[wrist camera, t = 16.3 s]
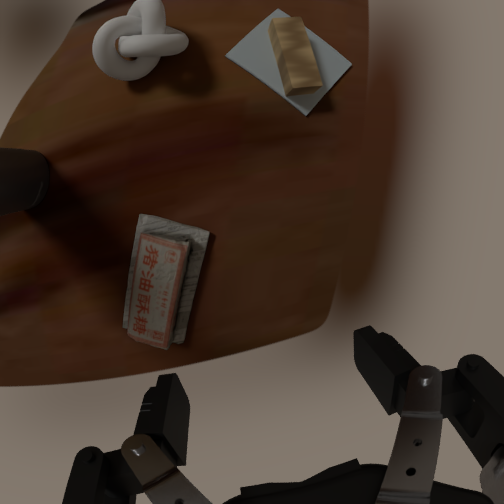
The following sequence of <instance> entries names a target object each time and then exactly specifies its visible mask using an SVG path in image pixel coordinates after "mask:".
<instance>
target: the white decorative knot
mask: <svg viewBox="0 0 504 504" xmlns="http://www.w3.org/2000/svg"><path fill="white" fill-rule="evenodd" d="M119 37H120V39H119V47H118V51H119V53H120V55H122V56H123V57H138V58H137V59H136V60H133V61H128V60H125V59H124V58H122V57H121V56H120V55H119V54H118V53H117V51H116V48H115V41H116V39H117V38H119ZM188 42H189V39H188V37H187V36H186V34H185V33H183V32H181V31H179V30H176V29H174V28H171V27H169V26H166V17H165V9H164V5H163V3H162V1H161V0H137V1H135V3H134V4H133V5H132V6H131V8H130V10H129V12H128V14H127V16H121V17H117V18H114V19H111V20H109V21H108V22H106V23H105V24H104V25H103V26H101V28H100V29H99V30H98V32H97V33H96V35H95V37H94V41H93V56H94V60H95V62H96V64H97V65H98V67H99V68H100V69H101V70H102V71H103V72H104V73H105V74H107V75H108V76H110V77H112V78H115V79H118V80H123V81H131V80H137V79H140V78H142V77H144V76H146V75H147V74H148V73H150V72H151V71H152V70H153V69H154V67H155V66H156V65H157V63H158V62H159V60H160V57H161V56H171V55H176V54H179V53H181V52H182V51H184V50H185V49H186V48H187V46H188Z"/></svg>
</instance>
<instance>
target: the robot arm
mask: <svg viewBox="0 0 504 504" xmlns="http://www.w3.org/2000/svg"><path fill="white" fill-rule="evenodd" d="M48 185H49V168H48V164H47V162H46V159H45V158H44V156H43V155H42V154H41V153H39V152H38V151H35V150H24V149H15V148H0V216H2V215H6V214H10V213H14V212H18V211H22V210H26V209H30V208H33V207H35V206H37V205H38V204H39V203H40V202H41V201H42V200H43V198H44V196H45V194H46V192H47V189H48ZM354 360H355V364H356V367H357V369H358V370H359V372H360V373H361V375H362V376H363V378H364V379H365V381H366V382H367V384H368V385H369V387H370V388H371V390H372V391H373V392H374V394H375V395H376V397H377V399H378V400H379V402H380V403H381V405H382V406H383V407H384V409H385V411H386V412H387V414H388V415H391V414H394V413H396V412H397V413H398V414H399V415H400V417H401V419H400V423H399V428H398V432H397V435H396V439H395V443H394V447H393V450H392V454H391V457H390V460H389V464H388V466H387V465H382V464H362V465H360V464H359V462H358V460H357V458H356V459H353V460H351V461H348V462H345V463H342V464H339V465H336V466H333V467H330V468H328V469H326V470H324V471H322V472H320V473H318V474H316V475H314V476H312V477H311V478H308V479H307V480H304V481H302V482H293V483H292V482H291V483H290V482H289V483H265V484H259V485H254V486H247V487H241V488H240V490H241V495H238V496H236V497H233V498H231V499H229V500H228V501H226V502H224V503H223V504H504V377H503V376H502V375H501V374H500V373H499V372H498V371H497V370H496V369H495V368H494V367H493V366H492V365H490V363H488V362H487V361H486V360H485V359H484V358H483V357H481V356H479V355H475V354H470V355H466V356H464V357H462V358H461V359H460V360H459V362H458V366H457V368H454V369H449V370H445V371H439V369H437V368H436V367H433V366H429V365H424V366H421V365H420V364H419V363H418V362H417V361H416V360H415V359H414V358H413V357H412V356H411V355H410V354H409V353H408V352H407V351H406V350H405V349H403V347H402V346H401V345H400V344H398V342H397V341H396V340H395V339H394V338H393V337H392V336H391V335H388V334H386V333H384V332H382V333H379V334H378V333H377V332H376V331H375V330H374V329H373V328H372V327H371V326H366V327H364V328H361V329H357V330H355V331H354ZM189 416H190V404H189V400H188V397H187V395H186V393H185V391H184V388H183V386H182V384H181V382H180V380H179V378H178V376H177V374H176V373H172V374H165V375H159V377H158V380H157V384H156V387H150V389H149V390H148V391H147V392H146V394H145V395H144V398H143V402H142V406H141V409H140V413H139V416H138V420H137V423H136V427H135V431H134V435H133V436H131V437H129V438H128V439H126V440H125V441H124V442H123V444H122V446H121V449H119V450H115V451H111V452H106V453H103V452H102V451H101V450H100V449H99V448H97V447H94V446H90V447H85V448H83V449H82V450H80V451H79V452H78V453H77V455H76V457H75V460H74V463H73V466H72V470H71V473H70V477H69V480H68V483H67V487H66V491H65V494H64V499H63V502H62V504H135V503H136V494H140V493H144V492H145V494H146V495H147V497H148V498H149V499H150V501H151V502H152V503H153V504H212V503H211V502H210V501H209V500H208V499H207V498H206V497H205V496H204V495H203V494H202V493H201V492H200V491H199V490H198V489H197V488H196V487H195V486H193V484H192V483H191V482H190V481H189V480H188V479H187V478H186V477H185V476H184V475H183V474H182V473H181V472H180V471H179V470H178V468H177V466H185V465H186V454H187V441H188V427H189ZM444 418H448V419H449V421H450V422H451V424H452V425H453V426H454V427H455V429H456V430H457V432H458V433H459V435H460V436H461V438H462V439H463V440H464V442H465V443H466V445H467V446H468V448H469V449H470V451H471V452H472V453H473V455H474V457H475V458H476V459H477V461H478V462H479V464H480V465H481V467H482V471H481V474H480V483H481V488H482V493H481V492H478V491H473V490H469V489H464V488H459V487H456V486H452V485H448V484H444V483H440V482H437V481H434V480H433V479H434V474H435V469H436V464H437V457H438V452H439V445H440V437H441V429H442V420H443V419H444Z"/></svg>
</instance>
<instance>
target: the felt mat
mask: <svg viewBox="0 0 504 504" xmlns="http://www.w3.org/2000/svg"><path fill="white" fill-rule="evenodd" d="M282 17H290V16H289V15H287V14H286V13H284V12H282V11H281V10H279V9H277V10H276V11H274V12H273V13H272V14H271V15H269V16H268V17H267V18H266V19H265V20H263V21H262V22H261V23H260V24H259V25H258V26H256V27H255V28H254V29H253V30H252V31H251V32H250V33H249V34H248V35H246V36H245V37H244V38H243V39H242V40H241V41H240V42H239V43H238V44H237V45H236V46H235V47H234V48H233V49H231V50H230V51H229V52H228V53H227V54H226V55H225V57H226V58H228V59H229V60H231V61H233V62H234V63H236V64H237V65H238V66H240V67H241V68H243V69H244V70H246V71H247V72H249V73H250V74H252V75H253V76H254V77H256V78H257V79H259V80H260V81H261V82H263V83H264V84H265V85H267V86H268V87H269V88H271V89H272V90H273V91H275V92H276V93H277V94H279V95H280V96H281V97H282V98H284V99H285V100H286V101H288V102H289V103H290V104H291V105H293V106H294V107H295V108H296V109H297V110H299V111H300V112H301V113H302V114H304V115H305V116H307V114H308V113H309V112H310V111H311V110H312V109H313V107H314V106H315V105H316V104H317V103H318V102H319V101H320V99H321V98H322V97H323V96H324V95H325V94H326V93H327V91H328V90H329V89H330V88H331V87H332V86H333V85H334V84H335V82H336V81H337V80H338V79H339V78H340V77H341V76H342V75H343V74H344V73H345V71H346V70H347V69H348V68H349V67H350V66H351V65H352V64H351V63H350V62H349V61H348V60H347V59H345V58H344V57H343V56H342V55H341V54H340V53H338V52H337V51H336V50H335V49H334V48H332V47H331V46H330V45H329V44H327V43H326V42H325V41H323V40H322V39H321V38H320V37H318V36H317V35H316V34H314V33H313V32H312V31H310V30H309V29H307V28H306V27H305V29H306V32H307V35H308V38H309V41H310V44H311V47H312V51H313V54H314V57H315V60H316V64H317V67H318V70H319V74H320V77H321V81H322V84H323V86H322V87H321V88H319V89H318V90H317V91H316V92H315V93H313V94H304V95H295V96H285V92H284V88H283V84H282V81H281V77H280V73H279V69H278V66H277V62H276V59H275V55H274V52H273V48H272V45H271V41H270V38H269V35H268V28H269V25H270V22H271V20H272V18H282Z"/></svg>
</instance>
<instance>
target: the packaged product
mask: <svg viewBox="0 0 504 504" xmlns="http://www.w3.org/2000/svg"><path fill="white" fill-rule="evenodd" d="M208 238H209V231H206V230H204V229H201V228H198V227H193V226H189V225H184V224H181V223H178V222H174V221H171V220H168V219H164V218H161V217H157V216H152V215H145V214H139V220H138V224H137V228H136V234H135V240H134V245H133V251H132V257H131V263H130V270H129V275H128V287H127V292H126V299H125V309H124V318H123V328H126V329H127V333H128V336H130V337H131V338H133V339H134V340H135V341H137V342H142V343H146V344H149V345H151V346H155V347H159V348H162V349H165V350H168V348H170V345H171V344H172V342H174V343H177V344H180V343H184V339H185V335H186V329H187V324H188V320H189V316H190V312H191V308H192V302H193V298H194V294H195V291H196V287H197V283H198V279H199V274H200V270H201V266H202V262H203V258H204V255H205V251H206V247H207V243H208Z"/></svg>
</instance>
